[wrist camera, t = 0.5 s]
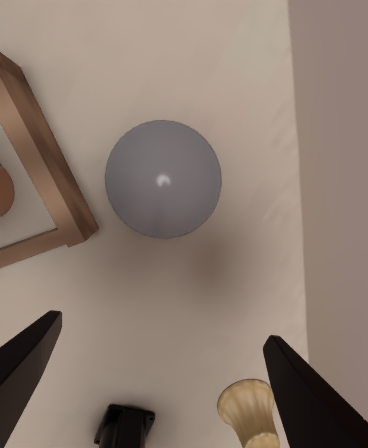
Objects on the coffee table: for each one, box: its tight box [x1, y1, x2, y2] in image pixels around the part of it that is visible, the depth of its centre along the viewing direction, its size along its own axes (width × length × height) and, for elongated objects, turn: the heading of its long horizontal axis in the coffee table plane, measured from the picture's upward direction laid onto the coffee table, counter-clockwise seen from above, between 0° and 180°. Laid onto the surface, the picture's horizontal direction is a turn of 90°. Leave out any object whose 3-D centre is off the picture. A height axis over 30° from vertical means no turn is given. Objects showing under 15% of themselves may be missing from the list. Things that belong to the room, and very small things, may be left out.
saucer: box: [105, 120, 221, 238], centre depth 20 cm, size 11×11×1 cm
